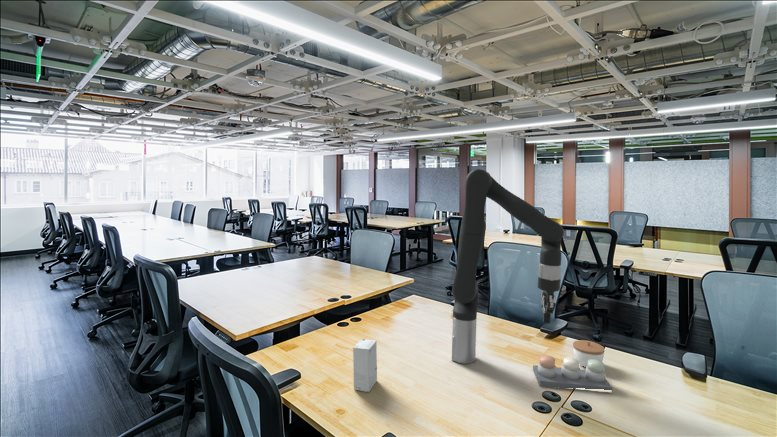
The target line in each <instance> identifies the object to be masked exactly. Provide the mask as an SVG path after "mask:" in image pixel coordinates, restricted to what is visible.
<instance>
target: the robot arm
mask: <svg viewBox="0 0 777 437" xmlns="http://www.w3.org/2000/svg"><path fill="white" fill-rule="evenodd" d="M464 187H465V193H464V194H465V195H464V196H465V197H464V207H463V208H464V210H463V213H462V216H461V217H462V219H461V223H460V228H459V237H458V247H457V263H456V271H455V277H454V280H453V284H452V287H451V288H452V289H451V290H452V295H453V298H454V303H453V308H452V333H451V334H452V338H451V339H452V340H451V361H452V362H456V363H459V364H464V365H467V364H468V365H469V364H472V363H475V361H476V351H477V350H476V349H477V348H476V346H477V344H476V343H477V320H478V319H477V316H478V306H479V305H478V304H479V303H478V302H479V284H478V282H477V279H476V276H477V268H478V264H479V262H480V258H481V255H482V250H483V246H484V241H485V234H486V232H485V231H486V218H485V217H486V214H485V208H486V201H487V199H489V200H491V201H493V202H494V203H496V204H497V205H499V206H500V207H501V208H502V209H504V210H505V211H506V212H507V213H508V214H510V215H511V216H512V217H514V219H516V220H518V221H519V222H521V223H522V224H524V225H525V226H527V227H528V228H530V229H531V230H533V231H534V232H535V233H536V234H537V235H538V236H540V237H541V239H540V241H541V243H540V244H541V245H540V246H541V247H540V248H541V249H540V253H539V254H540V255H539V266H538V271H537V272H538V274H537V289H539V290H541V291H542V292H541V293H540V299H541V309H542V312H543V313H542V321H543V322H542V323H544V324H550V323H551V315H553V314H554V311H555V308H556V306H557V304H556V302H555V301H556V295H555V292H559V291H560V290H561V281H562V279H561V278H562V248H561V247H562V240H563V239H562V238H563V237H564V234H565V232H564V231H565V230H564V227H563V226H562V225H561V224H560V223H559V222H558V221H555V220H553V219H551V218H550V217H549V216H547V215H545V214H543V213H542V212H541V211H540V210H539V209H537V208H536V207H535V206H533V205H532V204H531V203H529V202H527V201H526V200H524V199H522V198H520V197H519V196H517V195H516V194H514V193H512V192H511V191H509V190H508V189H507V188H505V187H504V186H502V185H501V184H500V183H499V182H497V180H496V179H495V178H494V177H492V176H491V174H490V173H489V172H488V171H487V170H484V169H480V168H477V169H473V170H471V171H470V172H469V173H468V174H467V175H466V178H465V186H464Z"/></svg>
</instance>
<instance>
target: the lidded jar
mask: <svg viewBox="0 0 777 437" xmlns="http://www.w3.org/2000/svg"><path fill="white" fill-rule="evenodd" d="M572 353H573V358H574V359H577V360H578V361H579V364H580V365H581V366H580V365H579V366H580V367H582V366H584V367H587V366H588V360H590V359H594V360H598V361H601V362H603V361H604V355H605V347H604V346H602V345H601V344H599V343H597V342H594V341H592V340H591V341H590V340H584V339H581V340H580V339H579V340H574V341H573V343H572ZM584 367H583V368H584Z"/></svg>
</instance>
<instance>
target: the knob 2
mask: <svg viewBox="0 0 777 437" xmlns="http://www.w3.org/2000/svg"><path fill="white" fill-rule="evenodd" d="M587 368H588V369H589V370H590V371H592V372H595V373H603V372H604V370H605V363H604V362H603V361H602V362H601V361H598V360H594V359H590V360H588V366H587Z"/></svg>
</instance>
